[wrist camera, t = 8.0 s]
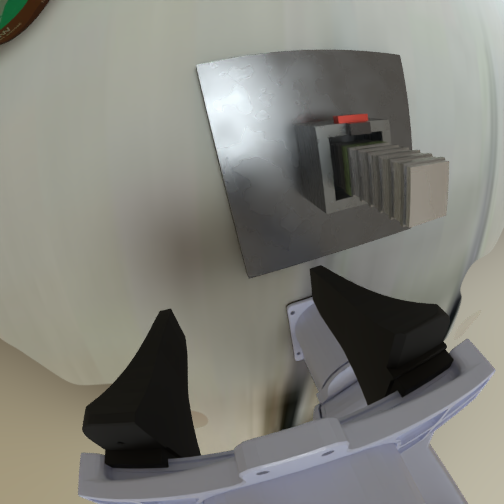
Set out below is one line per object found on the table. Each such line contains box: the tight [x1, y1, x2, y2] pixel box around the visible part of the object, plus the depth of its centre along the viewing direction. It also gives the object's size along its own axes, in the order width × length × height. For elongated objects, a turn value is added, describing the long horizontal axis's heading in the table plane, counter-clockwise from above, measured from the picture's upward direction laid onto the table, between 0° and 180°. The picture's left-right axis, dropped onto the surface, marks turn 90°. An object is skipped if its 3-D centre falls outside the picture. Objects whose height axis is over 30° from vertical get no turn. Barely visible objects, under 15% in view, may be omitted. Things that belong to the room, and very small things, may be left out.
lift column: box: [330, 139, 449, 228], centre depth 14 cm, size 3×3×8 cm
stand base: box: [196, 50, 412, 278], centre depth 19 cm, size 18×18×6 cm
